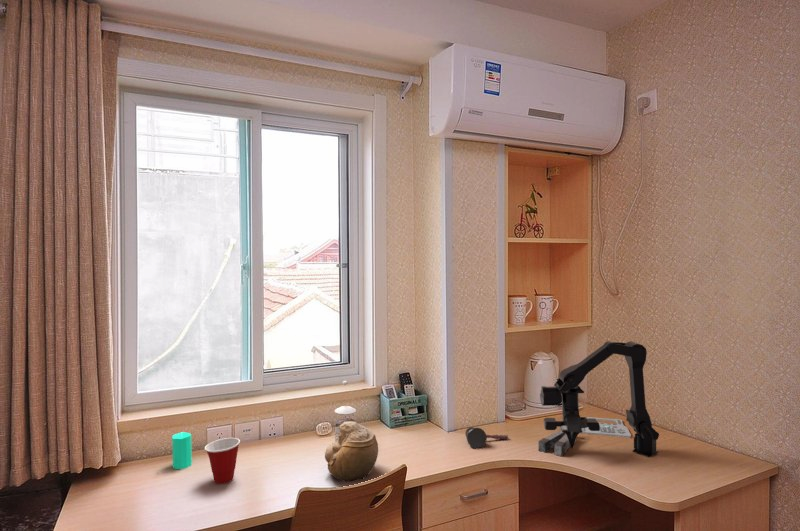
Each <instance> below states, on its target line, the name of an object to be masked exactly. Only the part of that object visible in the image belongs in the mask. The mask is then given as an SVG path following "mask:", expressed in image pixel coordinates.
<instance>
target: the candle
mask: <svg viewBox="0 0 800 531" xmlns="http://www.w3.org/2000/svg"><path fill="white" fill-rule="evenodd" d="M171 440H172V444H171V445H172V446H171V448H172V468H173V469H174V470H183V469H188V468H189V467H191V466H192V464H193V461H192V458H193V456H192V453H193V452H192V434H191V433H190V432H185V431H181V432H178V433H175V434H173V435H172V438H171Z"/></svg>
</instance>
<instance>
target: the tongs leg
mask: <svg viewBox="0 0 800 531" xmlns="http://www.w3.org/2000/svg"><path fill="white" fill-rule="evenodd" d="M576 441H577V439H576V440H575V442H576ZM569 448H571V446H570V443H569V440H568V438H567V435H566V434H565V435H564V436H563V437H562V438H561V439H560V440H559V441H557V442H556V443H555V444H554V447H553V450H554V454H553V455H556V456H559V457H562V456H563V455H564V454H565V453H567V451H568V449H569Z"/></svg>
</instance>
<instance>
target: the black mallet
mask: <svg viewBox="0 0 800 531" xmlns="http://www.w3.org/2000/svg"><path fill="white" fill-rule="evenodd" d="M464 436H465V437H466V442H467V443H468V445H469V447H471V448H473V449H481V448H483V447H484V446H485V445H486V443H487V439H495V440H502V441H503V440H504V441H507V442H508V440H509V436H508V435H507V434H506V435H505V434H486V432H485V430H484V429H482V428H480V427H473V426H471V427H470V426H469V427H468V428H467V429H466V430H465V435H464Z"/></svg>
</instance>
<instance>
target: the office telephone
mask: <svg viewBox="0 0 800 531" xmlns="http://www.w3.org/2000/svg"><path fill="white" fill-rule="evenodd" d="M585 417H586V418H594V419H596V420H597V421H602V422H598V423H599V425H600V431H591V430H590V429H589V428H588V427H587V428H582V431H583V432H582V433H581V434H587V435H597V436H608V437H618V438H628V439H629V438H630V439H632V434H631V433H630V431H629V428H628V427H627V426H625V425H624V423H623V420H622V419H620V418H619V419H618V418H607V417H606V418H604V417H592V416H590V417H588V416H585ZM603 421H604V422H605V423H604V422H603ZM606 422H614V423H606Z"/></svg>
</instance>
